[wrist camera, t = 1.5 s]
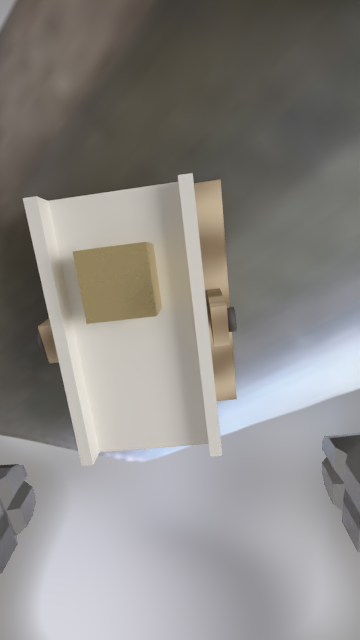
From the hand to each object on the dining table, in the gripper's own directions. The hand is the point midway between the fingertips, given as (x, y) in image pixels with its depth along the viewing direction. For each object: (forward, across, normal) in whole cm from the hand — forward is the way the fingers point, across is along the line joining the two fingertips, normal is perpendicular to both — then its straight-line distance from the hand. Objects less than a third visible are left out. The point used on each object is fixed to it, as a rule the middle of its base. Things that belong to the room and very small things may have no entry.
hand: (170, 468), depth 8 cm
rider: (+21, +5, -2) cm, 22 cm away
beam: (+21, +5, +3) cm, 22 cm away
